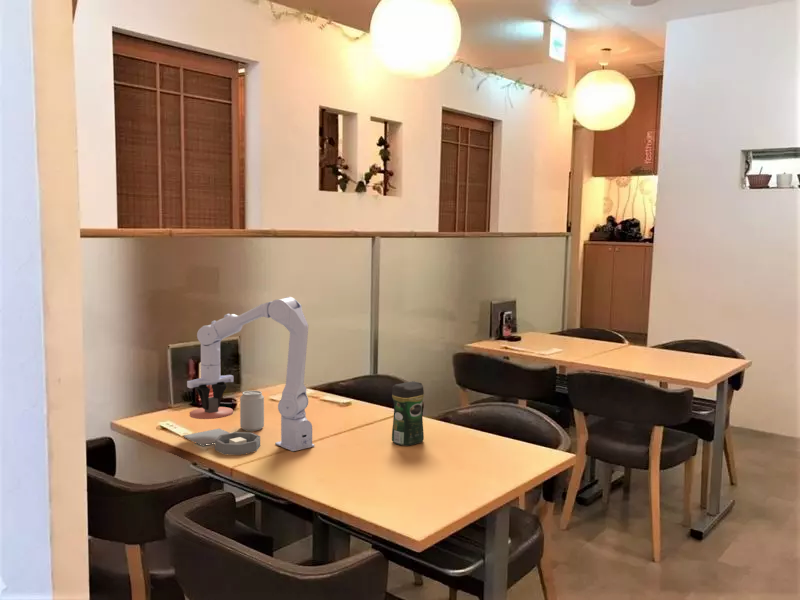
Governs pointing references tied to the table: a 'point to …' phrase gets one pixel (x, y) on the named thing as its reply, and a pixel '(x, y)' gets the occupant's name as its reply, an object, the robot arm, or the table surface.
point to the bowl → (237, 443)
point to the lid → (211, 411)
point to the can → (252, 410)
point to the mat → (206, 436)
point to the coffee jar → (407, 413)
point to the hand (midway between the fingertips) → (211, 408)
